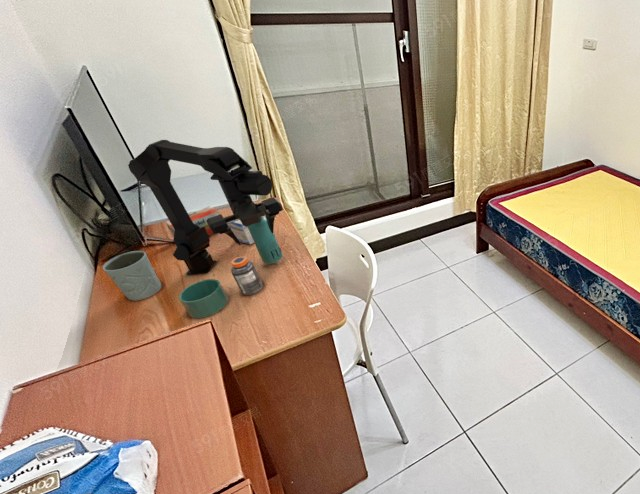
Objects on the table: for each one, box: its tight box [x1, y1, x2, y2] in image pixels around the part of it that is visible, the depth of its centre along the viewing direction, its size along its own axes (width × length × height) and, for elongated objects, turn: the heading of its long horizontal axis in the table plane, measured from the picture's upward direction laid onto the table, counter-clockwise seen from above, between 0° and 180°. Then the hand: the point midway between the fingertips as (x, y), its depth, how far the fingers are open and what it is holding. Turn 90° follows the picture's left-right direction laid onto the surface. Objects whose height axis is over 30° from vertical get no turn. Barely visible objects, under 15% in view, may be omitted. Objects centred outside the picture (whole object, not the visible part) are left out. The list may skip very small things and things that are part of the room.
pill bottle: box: [230, 255, 264, 296], centre depth 120 cm, size 6×6×11 cm
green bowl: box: [178, 278, 229, 319], centre depth 115 cm, size 10×10×6 cm
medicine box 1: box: [165, 205, 220, 238], centre depth 150 cm, size 15×8×8 cm, turn 142°
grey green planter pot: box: [102, 250, 162, 302], centre depth 121 cm, size 10×10×12 cm
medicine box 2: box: [228, 220, 255, 245], centre depth 145 cm, size 8×4×9 cm, turn 68°
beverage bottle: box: [247, 216, 283, 265], centre depth 129 cm, size 6×7×20 cm
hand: (256, 238), depth 122 cm, fingers open, 9 cm apart
